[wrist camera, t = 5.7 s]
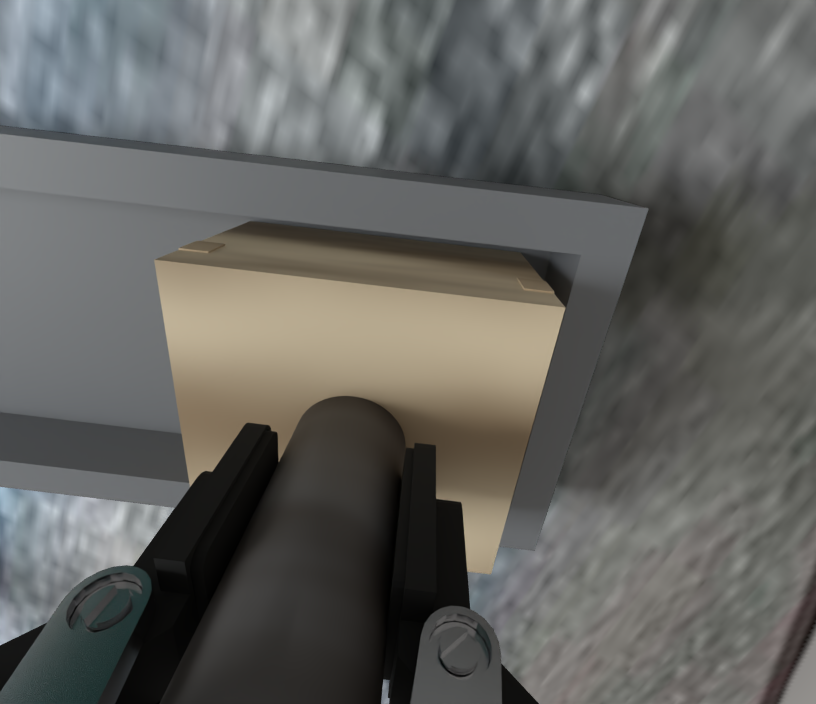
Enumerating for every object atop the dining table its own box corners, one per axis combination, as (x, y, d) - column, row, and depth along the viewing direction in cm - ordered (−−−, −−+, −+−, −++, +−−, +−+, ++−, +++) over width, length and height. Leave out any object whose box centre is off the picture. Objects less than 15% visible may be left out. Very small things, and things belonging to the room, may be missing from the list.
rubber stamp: (475, 459, 20) (545, 998, 7) (262, 433, 20) (-34, 925, 7) (520, 251, 16) (877, 678, 3) (250, 219, 16) (-494, 513, 3)
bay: (517, 484, 22) (535, 554, 18) (-63, 415, 22) (-167, 470, 18) (599, 194, 16) (652, 209, 12) (-205, 101, 16) (-405, 87, 12)
